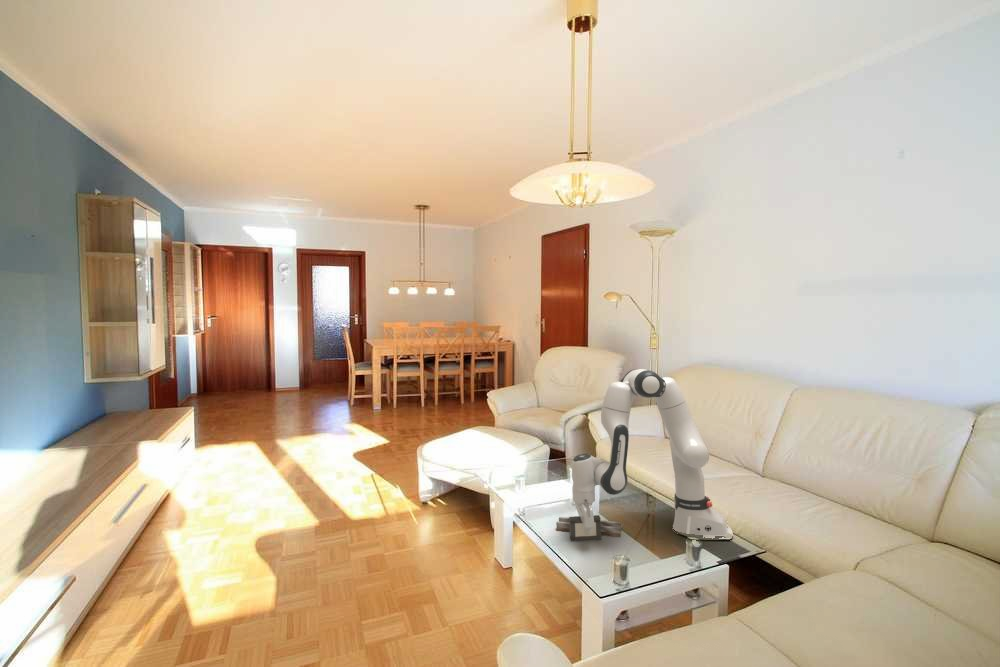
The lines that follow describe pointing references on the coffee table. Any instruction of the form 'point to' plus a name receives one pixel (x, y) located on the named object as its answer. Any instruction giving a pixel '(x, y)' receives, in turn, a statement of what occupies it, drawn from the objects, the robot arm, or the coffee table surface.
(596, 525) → the frame
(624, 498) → the coffee table surface
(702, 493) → the robot arm
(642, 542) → the coffee table surface
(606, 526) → the ledge
